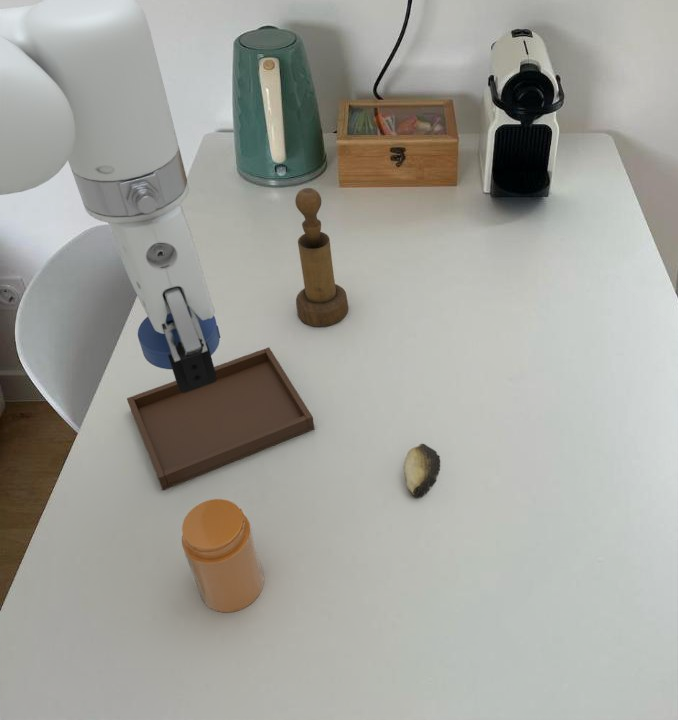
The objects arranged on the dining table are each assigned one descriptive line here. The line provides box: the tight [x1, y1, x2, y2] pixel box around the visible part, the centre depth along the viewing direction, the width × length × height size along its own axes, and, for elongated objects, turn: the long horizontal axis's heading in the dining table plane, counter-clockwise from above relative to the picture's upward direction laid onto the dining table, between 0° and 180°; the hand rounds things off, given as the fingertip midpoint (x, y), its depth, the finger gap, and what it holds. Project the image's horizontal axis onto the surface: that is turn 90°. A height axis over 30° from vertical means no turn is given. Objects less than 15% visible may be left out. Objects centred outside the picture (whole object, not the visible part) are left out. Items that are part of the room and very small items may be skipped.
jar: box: [181, 498, 265, 613], centre depth 73 cm, size 6×6×10 cm
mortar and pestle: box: [294, 187, 349, 327], centre depth 100 cm, size 7×6×18 cm
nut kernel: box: [403, 443, 441, 498], centre depth 85 cm, size 6×5×3 cm
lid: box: [137, 308, 221, 370], centre depth 69 cm, size 6×6×2 cm
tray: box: [126, 347, 315, 491], centre depth 92 cm, size 17×13×2 cm
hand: (186, 358), depth 70 cm, fingers closed on lid, 6 cm apart
